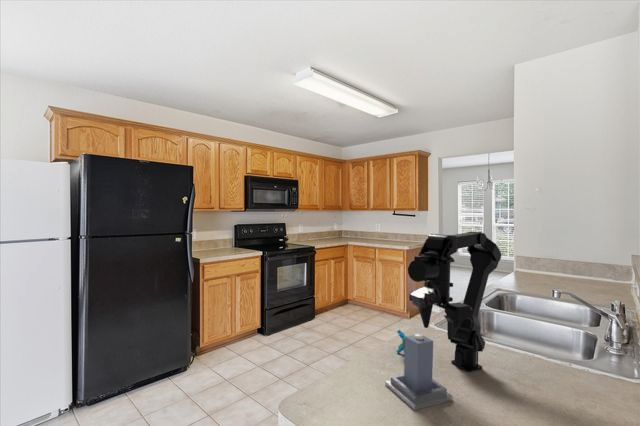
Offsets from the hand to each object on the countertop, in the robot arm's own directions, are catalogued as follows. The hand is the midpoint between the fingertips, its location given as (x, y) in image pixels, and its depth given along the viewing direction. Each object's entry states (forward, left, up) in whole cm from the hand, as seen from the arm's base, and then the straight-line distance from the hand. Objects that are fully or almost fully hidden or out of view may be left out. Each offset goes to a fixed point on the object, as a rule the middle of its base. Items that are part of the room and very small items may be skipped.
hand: (437, 333), depth 90 cm
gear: (-3, -17, -13) cm, 22 cm away
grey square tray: (+9, +3, -13) cm, 16 cm away
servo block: (+9, +3, -12) cm, 16 cm away
